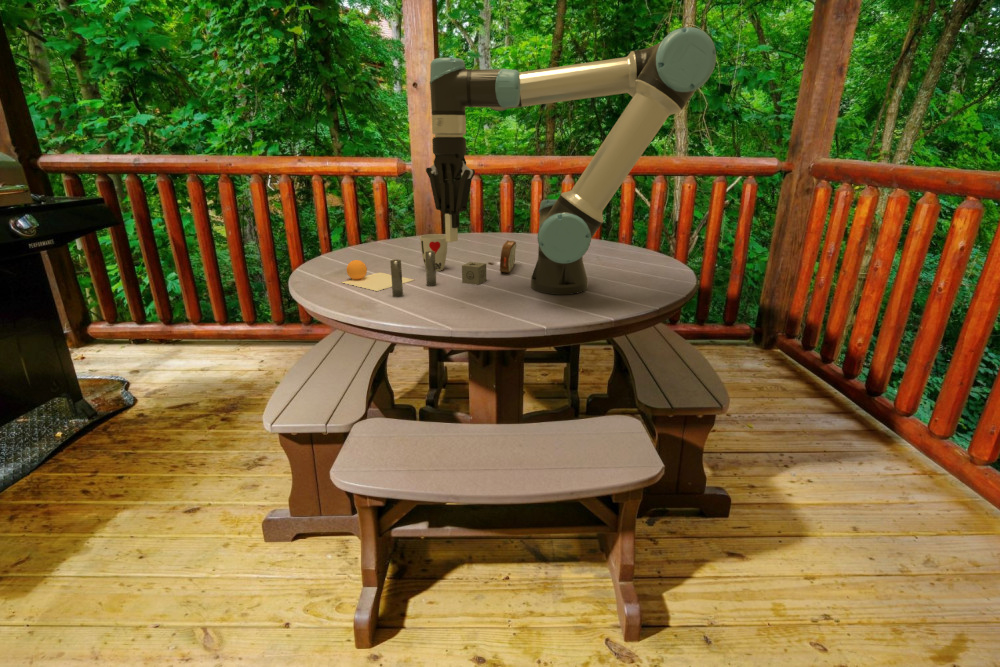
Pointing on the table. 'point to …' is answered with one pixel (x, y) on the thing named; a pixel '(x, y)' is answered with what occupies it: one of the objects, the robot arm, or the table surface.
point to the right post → (430, 268)
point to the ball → (356, 270)
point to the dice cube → (474, 273)
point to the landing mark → (375, 281)
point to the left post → (396, 278)
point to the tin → (507, 256)
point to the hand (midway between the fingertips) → (451, 241)
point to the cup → (435, 248)
